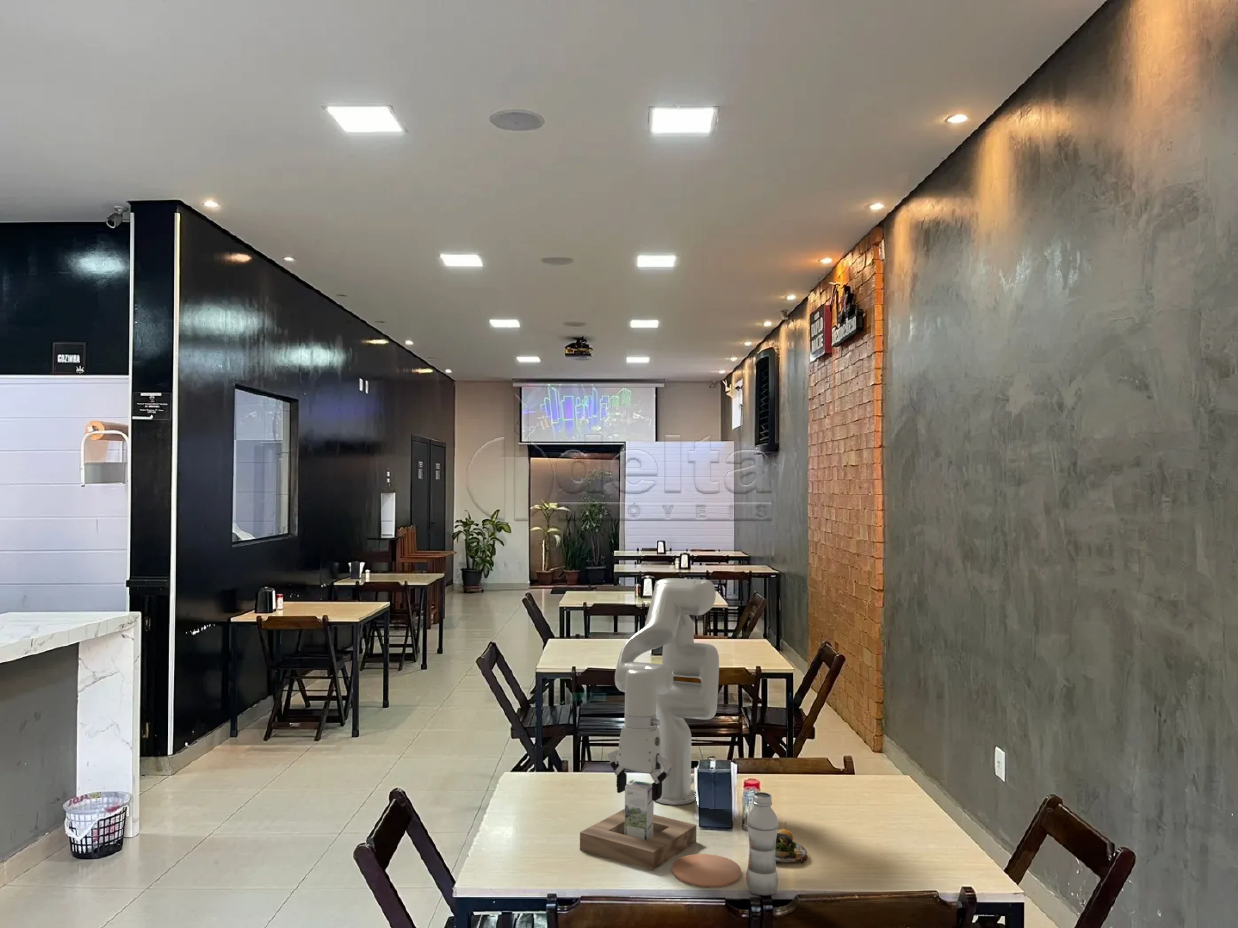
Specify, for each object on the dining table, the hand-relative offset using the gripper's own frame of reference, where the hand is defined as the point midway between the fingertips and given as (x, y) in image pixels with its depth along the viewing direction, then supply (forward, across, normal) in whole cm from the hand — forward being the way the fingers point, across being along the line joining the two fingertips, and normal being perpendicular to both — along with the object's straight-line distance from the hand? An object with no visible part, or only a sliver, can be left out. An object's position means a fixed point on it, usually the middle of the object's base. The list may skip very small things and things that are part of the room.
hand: (638, 795), depth 202 cm
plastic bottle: (+12, -34, +5) cm, 36 cm away
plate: (+12, -20, +3) cm, 23 cm away
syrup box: (+12, 0, -1) cm, 12 cm away
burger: (+12, -30, -15) cm, 35 cm away
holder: (+12, 0, -1) cm, 12 cm away
